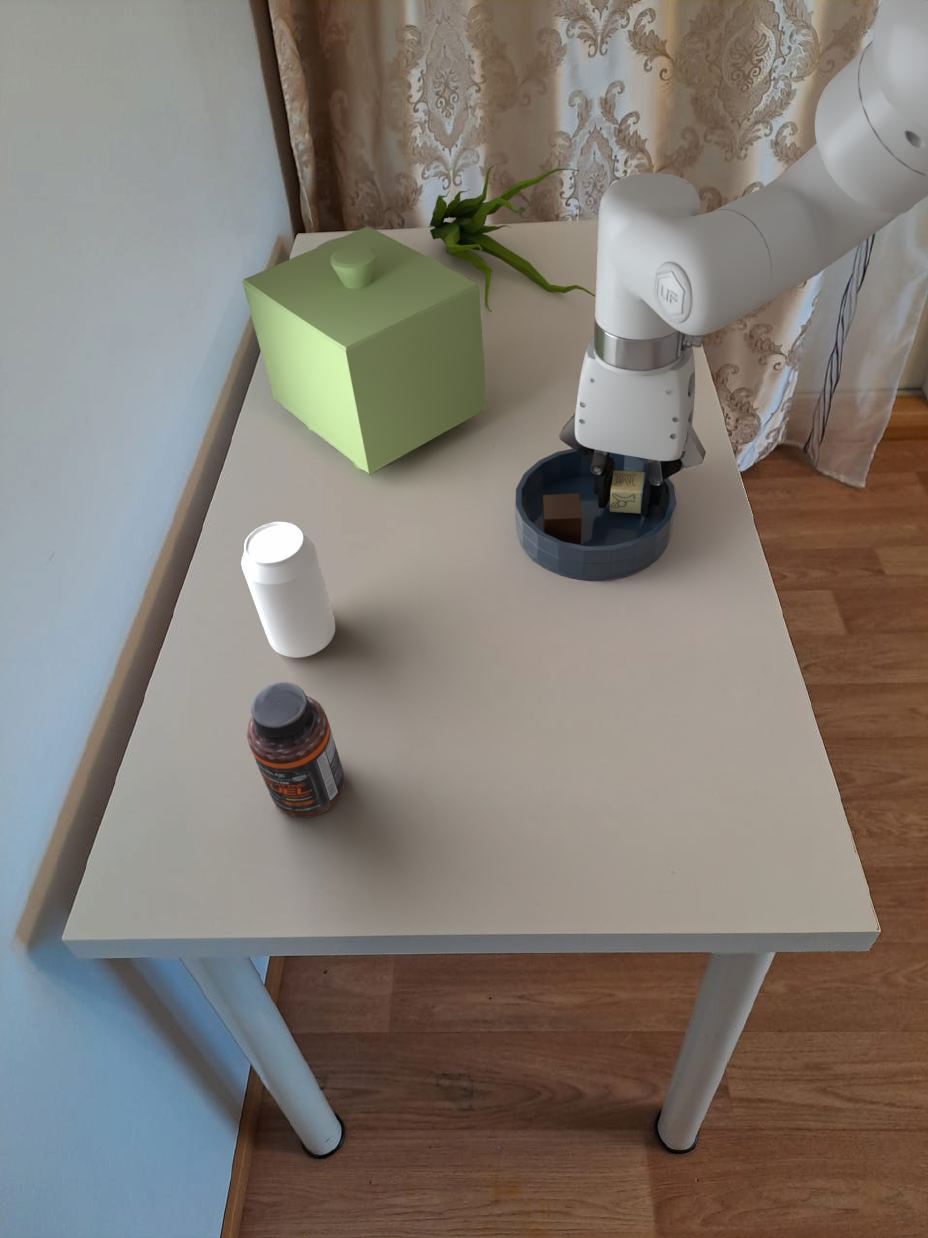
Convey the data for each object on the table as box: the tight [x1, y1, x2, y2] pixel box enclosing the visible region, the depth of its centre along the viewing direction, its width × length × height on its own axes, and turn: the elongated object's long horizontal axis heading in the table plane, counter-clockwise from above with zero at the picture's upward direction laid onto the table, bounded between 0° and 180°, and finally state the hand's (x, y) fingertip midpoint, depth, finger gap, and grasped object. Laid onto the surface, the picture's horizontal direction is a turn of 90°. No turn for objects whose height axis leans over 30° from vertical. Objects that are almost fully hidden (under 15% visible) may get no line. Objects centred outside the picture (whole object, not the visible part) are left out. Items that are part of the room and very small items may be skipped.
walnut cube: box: [543, 494, 582, 545], centre depth 87 cm, size 4×4×4 cm
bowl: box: [514, 447, 677, 582], centre depth 88 cm, size 15×15×4 cm
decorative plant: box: [429, 163, 596, 312], centre depth 118 cm, size 18×30×15 cm, turn 12°
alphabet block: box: [610, 471, 645, 514], centre depth 88 cm, size 3×3×3 cm
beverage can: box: [241, 521, 336, 658], centre depth 78 cm, size 6×6×12 cm
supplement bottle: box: [246, 681, 345, 818], centre depth 68 cm, size 6×6×11 cm
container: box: [242, 225, 488, 475], centre depth 97 cm, size 19×16×20 cm
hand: (626, 501), depth 89 cm, fingers closed on alphabet block, 3 cm apart
